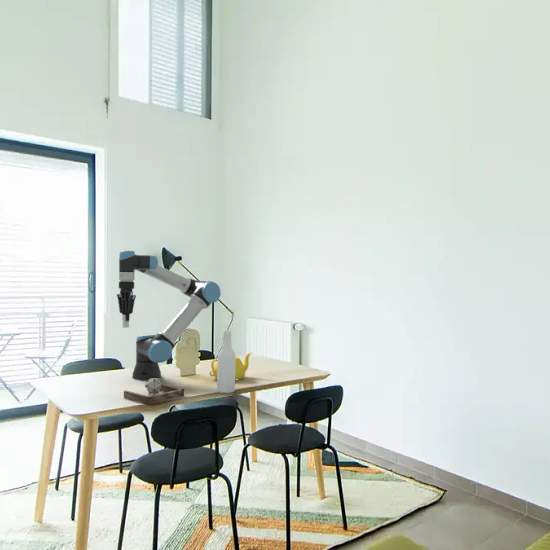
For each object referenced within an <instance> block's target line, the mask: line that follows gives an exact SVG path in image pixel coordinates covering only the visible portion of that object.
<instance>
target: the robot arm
mask: <svg viewBox="0 0 550 550" xmlns="http://www.w3.org/2000/svg"><path fill="white" fill-rule="evenodd" d="M118 258H119V259H118V264H119V265H118V280H119V282H118V289H119V294H118V293H117V294H116V297H117V302H118V312H119V314H122V328H125V329H126V328H130V315H131V314H133V312H134V305H135V300H136V298H137V295H136V294H134V291H133V290H134V289H135V273H136V272H135V271H138V272H140V273H142V274H144V275H147V276H149V277H150V278H153V279H155V280H158V281H160V282H162V283H163V284H165V285H168V286H171V287H172V288H175V289H177V290H179V291H180V293H182V294H183V295H185V296H187V297H189V298H190V300H189V301H188V302H187V303H186V304H185V305H184V307H182V309H181V310H180V311H179V312H178V313H177V314H176V316H174V318H173V319H172V320H171V321H170V322H169V324H168V325H167V326H166V327H165V328H164V330H163V331H160V332H159V331H158V332H157V334H149V335H138V336H137V337H136V341H135V346H136V347H135V348H136V349H135V353H136V354H135V355H136V356H135V366H134V369H133V372H132V378H133V379H135V380H149V378H159V377H160V378H161V377H162V371H161V369H160V366H159V363H165V362H166V361H168V360H169V359H171V356H172V355H173V350H174V348H175V347H176V341H177V340H178V339H179V338H180V337H181V335H183V333H184V332H185V331H186V330H187V328H188V327H189V326H190V325H191V323H193V321H194V320H195V319H196V318H197V317H198V316H199V314H200V313H201V312H202V311H203V310H206V309H209V307H210V305H211V304H214V303H216V302H218V301H219V299H220V298H221V286H219V284H217V283H216V282H214V281H211V280H207V281H206V280H197V279H196V280H195V279H192V278H190V277H187V278H186V277H184V276H182V275H181V274H178V273H175V272H174V271H172V270H169V269H167V268H165V267H163V266H161V265H159V261H158V260H159V259H158V257H157V256H156V255H150V254H145V255H142V254H136V252H135V251H134V250H121V251H119V257H118ZM148 377H149V378H148ZM160 378H159V379H160Z"/></svg>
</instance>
